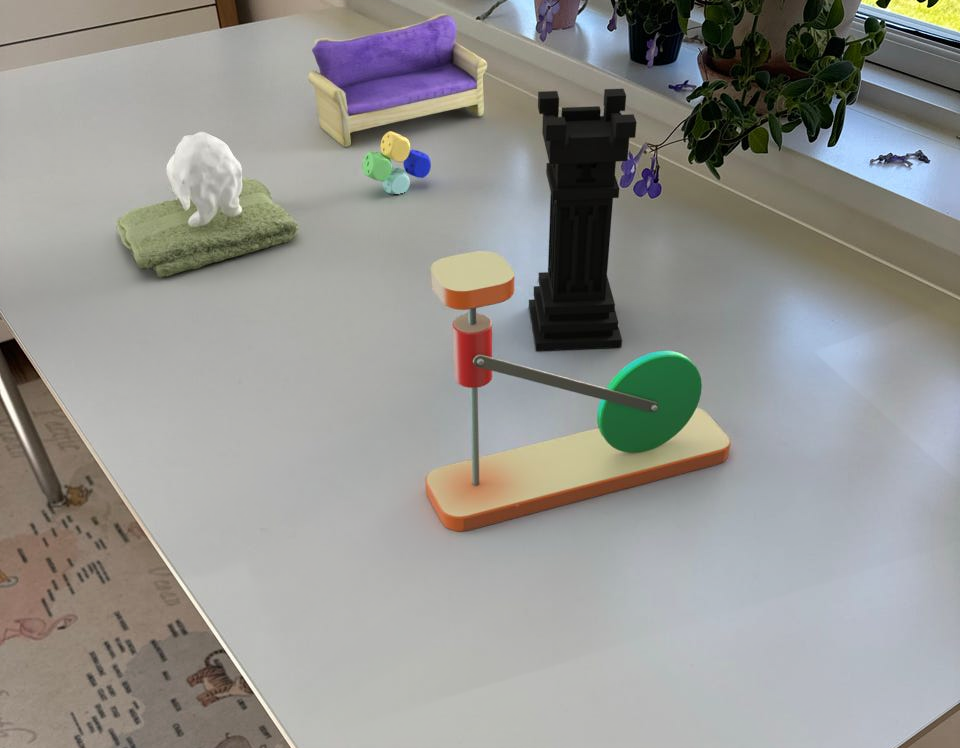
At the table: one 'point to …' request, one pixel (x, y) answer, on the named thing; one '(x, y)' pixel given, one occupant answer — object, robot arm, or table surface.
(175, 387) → the table surface
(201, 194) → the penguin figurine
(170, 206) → the washcloth
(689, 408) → the crank mechanism
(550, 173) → the chess piece
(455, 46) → the toy sofa
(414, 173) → the dice
